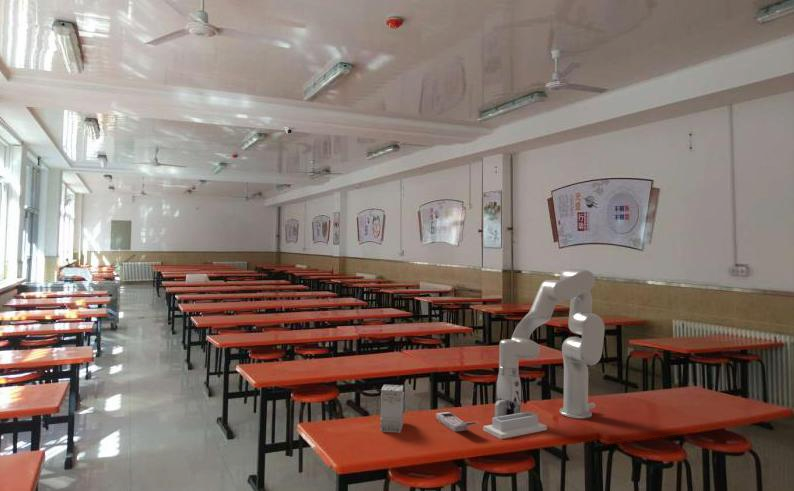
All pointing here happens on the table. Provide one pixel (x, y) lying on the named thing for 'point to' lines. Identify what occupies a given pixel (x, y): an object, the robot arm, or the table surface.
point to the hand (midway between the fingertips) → (507, 417)
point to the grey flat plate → (504, 408)
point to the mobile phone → (453, 421)
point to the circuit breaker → (392, 408)
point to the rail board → (514, 425)
